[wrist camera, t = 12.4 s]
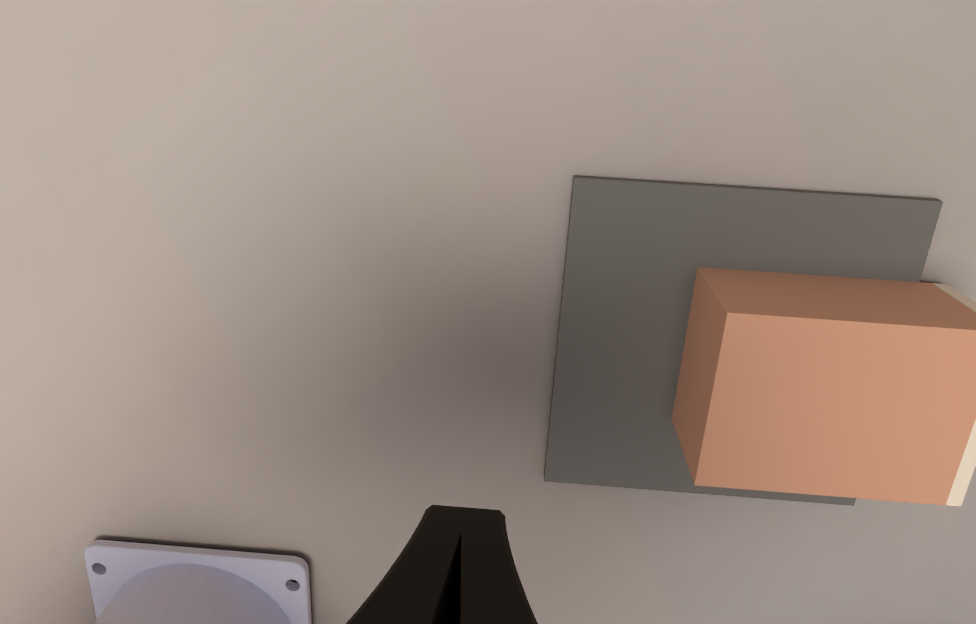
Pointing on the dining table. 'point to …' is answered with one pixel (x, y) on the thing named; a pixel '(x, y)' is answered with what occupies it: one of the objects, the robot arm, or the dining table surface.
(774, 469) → the block
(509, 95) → the dining table surface
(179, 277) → the dining table surface
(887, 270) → the mat
